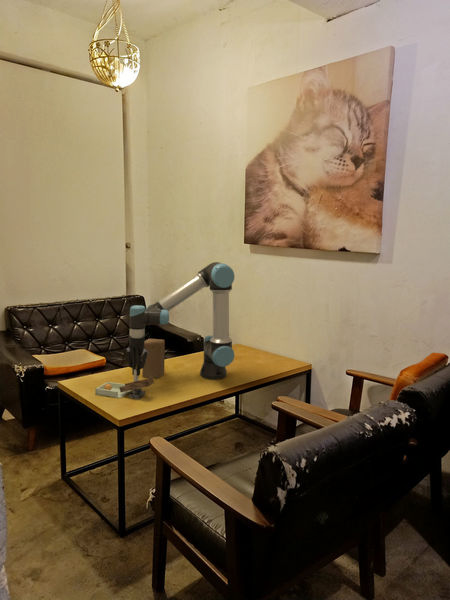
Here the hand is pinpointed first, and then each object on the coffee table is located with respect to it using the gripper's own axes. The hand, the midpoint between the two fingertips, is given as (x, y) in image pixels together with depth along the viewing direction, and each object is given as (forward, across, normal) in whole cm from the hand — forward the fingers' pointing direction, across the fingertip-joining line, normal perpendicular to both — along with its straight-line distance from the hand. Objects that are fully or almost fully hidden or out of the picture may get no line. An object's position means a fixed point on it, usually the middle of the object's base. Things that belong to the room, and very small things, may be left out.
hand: (136, 381), depth 232 cm
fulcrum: (+4, -6, +9) cm, 11 cm away
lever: (0, -6, +5) cm, 8 cm away
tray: (+4, +7, +9) cm, 12 cm away
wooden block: (+4, +2, -23) cm, 23 cm away
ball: (+2, +11, +9) cm, 14 cm away
